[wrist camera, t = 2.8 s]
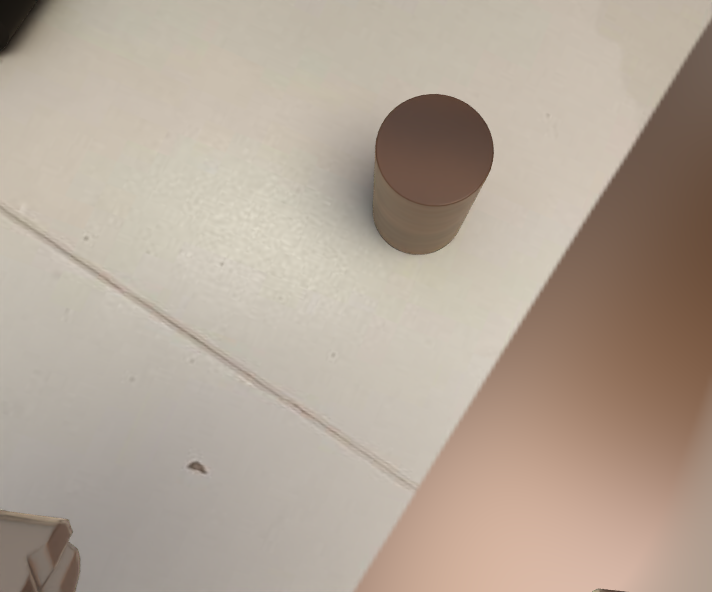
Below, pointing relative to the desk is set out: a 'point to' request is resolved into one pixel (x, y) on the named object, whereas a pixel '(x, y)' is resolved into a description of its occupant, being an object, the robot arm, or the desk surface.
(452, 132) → the brown cylinder
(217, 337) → the desk surface
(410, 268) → the desk surface
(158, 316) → the desk surface
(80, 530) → the desk surface
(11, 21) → the audio adapter
